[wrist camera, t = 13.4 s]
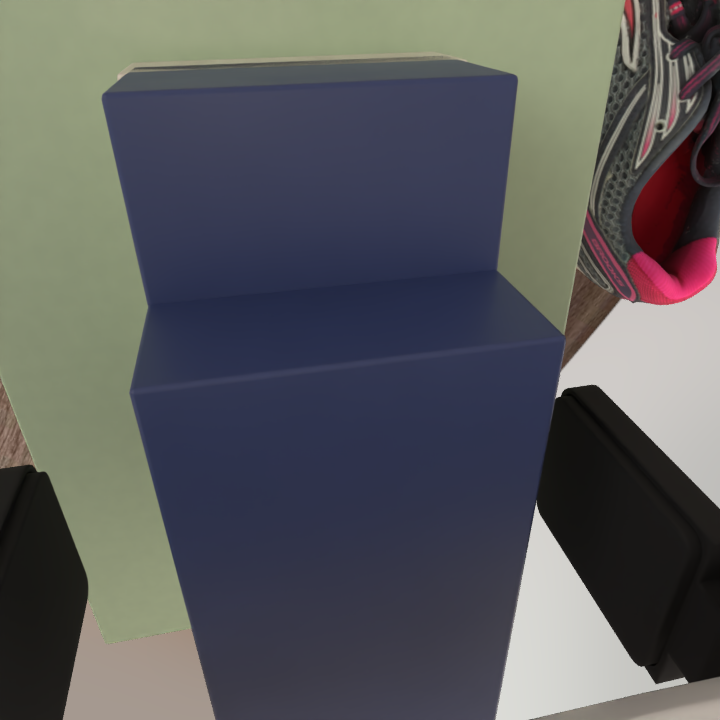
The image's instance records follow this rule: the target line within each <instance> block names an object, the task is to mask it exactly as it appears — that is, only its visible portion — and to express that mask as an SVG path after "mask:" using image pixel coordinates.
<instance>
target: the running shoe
mask: <svg viewBox="0 0 720 720" xmlns="http://www.w3.org/2000/svg"><path fill="white" fill-rule="evenodd" d="M719 238H720V0H625V5H624V11H623V16H622V22H621V27H620V33H619V38H618V44H617V49H616V55H615V60H614V65H613V71H612V76H611V82H610V87H609V93H608V98H607V104H606V109H605V115H604V120H603V125H602V131H601V136H600V142H599V147H598V153H597V158H596V164H595V169H594V175H593V180H592V186H591V191H590V196H589V202H588V207H587V213H586V218H585V224H584V229H583V235H582V240H581V246H580V251H579V256H578V262H577V267H576V269H578V270H580V271H581V272H582V273H583V274H584V275H585V276H586V277H587V278H589V279H590V280H591V281H592V282H594V283H595V284H596V285H598V286H599V287H601V288H603V289H605V290H607V291H608V292H609V293H610V294H613V295H614V296H616V297H619V298H622V299H627V300H629V301H631V302H632V303H635V302H644V303H651V304H656V305H669V304H674V303H678V302H682V301H684V300H686V299H688V298H690V297H692V296H694V295H696V294H697V293H699V292H700V291H701V290H703V289H704V288H705V287H707V285H709V284H710V283H711V281H712V280H713V279H714V277H715V274H716V271H717V262H716V253H717V248H718V244H719Z"/></svg>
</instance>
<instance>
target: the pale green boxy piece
mask: <svg viewBox="0 0 720 720" xmlns="http://www.w3.org/2000/svg"><path fill="white" fill-rule="evenodd" d="M624 5H625V0H0V378H1V381H2V383H3V386H4V388H5V391H6V393H7V396H8V398H9V401H10V403H11V406H12V409H13V411H14V414H15V416H16V419H17V421H18V424H19V426H20V429H21V431H22V434H23V436H24V439H25V441H26V444H27V447H28V449H29V452H30V454H31V457H32V459H33V462H34V464H35V467H36V469H37V472H42V471H44V472H46V473H47V474H48V476H49V478H50V480H51V483H52V486H53V488H54V491H55V493H56V496H57V499H58V501H59V504H60V506H61V509H62V512H63V514H64V517H65V519H66V522H67V525H68V527H69V530H70V532H71V535H72V538H73V540H74V543H75V545H76V548H77V551H78V553H79V556H80V558H81V561H82V564H83V566H84V569H85V572H86V574H87V578H88V587H89V590H88V601H89V603H90V606H91V608H92V611H93V614H94V616H95V619H96V621H97V624H98V626H99V629H100V631H101V634H102V636H103V639H104V641H105V643H106V644H111V643H116V642H122V641H127V640H132V639H138V638H143V637H149V636H154V635H159V634H165V633H170V632H175V631H181V630H186V629H191V625H190V621H189V617H188V613H187V610H186V606H185V602H184V598H183V595H182V591H181V587H180V583H179V579H178V576H177V572H176V568H175V564H174V561H173V557H172V553H171V549H170V545H169V542H168V538H167V534H166V530H165V527H164V523H163V519H162V515H161V511H160V508H159V504H158V500H157V496H156V493H155V489H154V485H153V481H152V477H151V474H150V470H149V466H148V462H147V458H146V455H145V451H144V447H143V443H142V440H141V436H140V432H139V428H138V424H137V421H136V417H135V413H134V409H133V406H132V402H131V398H130V394H129V391H130V387H131V382H132V378H133V373H134V369H135V364H136V359H137V355H138V350H139V346H140V341H141V337H142V332H143V327H144V323H145V318H146V314H147V309H148V305H147V301H146V296H145V292H144V287H143V283H142V278H141V274H140V269H139V265H138V261H137V256H136V252H135V247H134V243H133V238H132V234H131V229H130V225H129V220H128V216H127V211H126V207H125V203H124V198H123V194H122V189H121V185H120V180H119V176H118V171H117V167H116V162H115V158H114V154H113V149H112V145H111V140H110V136H109V131H108V127H107V122H106V118H105V113H104V109H103V105H102V100H101V98H102V94H103V93H104V92H105V91H107V90H108V89H109V88H110V87H111V86H112V85H114V84H115V83H116V82H117V81H118V80H117V75H118V74H119V73H120V72H121V71H122V70H124V69H125V68H126V67H128V66H129V65H130V64H132V63H135V62H162V61H190V60H217V59H244V58H271V57H299V56H326V55H353V54H380V53H407V52H438V53H442V54H446V55H450V56H454V57H458V58H462V59H465V60H467V62H469V63H473V64H477V65H481V66H484V67H488V68H492V69H496V70H500V71H504V72H507V73H511V74H514V75H516V76H517V77H518V86H517V95H516V104H515V114H514V123H513V132H512V141H511V150H510V159H509V168H508V177H507V186H506V195H505V204H504V213H503V222H502V232H501V241H500V250H499V259H498V268H497V270H498V271H499V272H500V273H501V274H502V275H503V276H504V277H505V278H506V279H507V280H508V281H509V282H510V283H511V284H512V285H513V286H514V287H515V288H516V289H517V290H518V291H519V292H520V293H521V294H522V295H523V296H524V297H525V298H526V299H527V300H528V301H529V302H530V303H531V304H532V305H533V306H535V307H536V308H537V309H538V310H539V311H540V312H541V313H542V314H543V315H544V316H545V317H546V318H547V319H548V320H549V321H550V322H551V323H552V324H553V325H554V326H555V327H556V328H557V329H558V330H559V331H560V332H561V333H562V334H563V335H564V333H565V327H566V322H567V316H568V311H569V306H570V300H571V295H572V289H573V284H574V278H575V273H576V267H577V262H578V256H579V251H580V246H581V240H582V235H583V229H584V224H585V218H586V213H587V207H588V202H589V196H590V191H591V186H592V180H593V175H594V169H595V164H596V158H597V153H598V147H599V142H600V136H601V131H602V125H603V120H604V115H605V109H606V104H607V98H608V93H609V87H610V82H611V76H612V71H613V65H614V60H615V55H616V49H617V44H618V38H619V33H620V27H621V22H622V16H623V11H624Z"/></svg>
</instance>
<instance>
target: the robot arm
mask: <svg viewBox="0 0 720 720" xmlns="http://www.w3.org/2000/svg"><path fill="white" fill-rule="evenodd" d="M537 507H538V510H539V513H540V515H541V517H542V518H543V520H544V521H545V523H546V525H547V526H548V528H549V529H550V531H551V533H552V534H553V536H554V537H555V539H556V540H557V542H558V543H559V545H560V546H561V548H562V550H563V551H564V553H565V555H566V556H567V558H568V559H569V561H570V562H571V564H572V566H573V567H574V569H575V570H576V572H577V574H578V575H579V576H580V578H581V580H582V581H583V583H584V584H585V586H586V588H587V589H588V591H589V592H590V594H591V596H592V597H593V599H594V600H595V602H596V604H597V605H598V607H599V608H600V610H601V611H602V613H603V614H604V616H605V618H606V619H607V621H608V622H609V624H610V626H611V627H612V629H613V630H614V632H615V633H616V635H617V637H618V638H619V640H620V641H621V643H622V645H623V646H624V648H625V649H626V651H627V652H628V654H629V656H630V657H631V659H632V660H633V661H634V662H635V663H636V664H637V665H638V666H641V667H642V666H645V668H646V670H647V671H648V673H649V674H650V676H651V677H652V679H653V680H654V682H655V683H656V684H658V683H662V682H666V681H671V680H674V679H679V678H683V677H685V678H686V680H687V681H688V684H684V685H679V686H674V687H670V688H665V689H660V690H656V691H651V692H646V693H642V694H637V695H633V696H629V697H624V698H620V699H616V700H612V701H607V702H603V703H599V704H594V705H590V706H586V707H582V708H578V709H573V710H569V711H565V712H560V713H556V714H552V715H548V716H543V717H539V718H535V719H530V720H720V509H719V508H718V507H717V506H716V505H715V504H714V503H713V502H712V501H711V500H710V499H709V498H708V497H707V496H706V495H705V494H704V493H703V492H702V491H701V490H700V488H699V487H697V486H696V485H695V483H694V482H692V480H691V479H689V477H688V476H687V475H686V474H685V473H684V472H682V470H681V469H680V468H679V467H678V466H677V465H676V464H675V463H674V462H673V461H672V460H671V459H670V458H669V457H668V456H667V455H666V454H665V453H664V452H663V451H662V450H661V449H660V448H659V447H658V446H657V445H656V444H655V443H654V442H653V441H652V440H651V439H650V438H649V437H648V436H647V435H646V434H645V433H644V432H643V431H642V430H641V429H640V428H639V427H638V426H637V425H636V424H635V423H634V422H633V421H632V420H631V419H630V418H629V417H628V416H627V415H626V414H625V413H624V412H623V411H622V410H621V409H620V408H619V407H618V406H617V405H616V404H615V403H614V402H613V401H612V400H611V399H610V398H609V397H608V396H607V395H606V394H605V393H604V392H603V391H602V390H601V389H600V388H599V387H597V386H596V385H587V386H580V387H573V388H567V389H565V390H564V391H563V392H562V395H561V397H558V398H556V400H555V403H554V409H553V414H552V419H551V425H550V430H549V435H548V441H547V446H546V452H545V457H544V462H543V468H542V473H541V478H540V484H539V489H538V494H537ZM88 590H89V587H88V578H87V574H86V572H85V569H84V566H83V564H82V561H81V558H80V556H79V553H78V551H77V548H76V545H75V543H74V540H73V538H72V535H71V532H70V530H69V527H68V525H67V522H66V519H65V517H64V514H63V512H62V509H61V506H60V504H59V501H58V499H57V496H56V493H55V491H54V488H53V486H52V483H51V480H50V478H49V476H48V474H47V473H46V472H44V471H42V472H37V471H36V469H35V468H34V467H33V466H32V465H24V466H17V467H10V468H3V469H0V720H63V715H64V711H65V706H66V701H67V695H68V690H69V686H70V681H71V677H72V672H73V667H74V662H75V657H76V652H77V648H78V643H79V638H80V633H81V627H82V623H83V618H84V613H85V608H86V604H87V599H88Z"/></svg>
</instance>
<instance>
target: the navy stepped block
mask: <svg viewBox="0 0 720 720" xmlns="http://www.w3.org/2000/svg"><path fill="white" fill-rule="evenodd" d="M117 80H118V81H117V82H116V83H115V84H114V85H112V86H111V87H110V88H109V89H108V90H107V91H105V92H104V93H103V94H102V98H101V100H102V105H103V109H104V113H105V118H106V122H107V127H108V131H109V136H110V140H111V145H112V149H113V154H114V158H115V162H116V167H117V171H118V176H119V180H120V185H121V189H122V194H123V198H124V203H125V207H126V211H127V216H128V220H129V225H130V229H131V234H132V238H133V243H134V247H135V252H136V256H137V261H138V265H139V269H140V274H141V278H142V283H143V287H144V292H145V296H146V301H147V305H148V309H147V314H146V318H145V323H144V327H143V332H142V337H141V341H140V346H139V350H138V355H137V359H136V364H135V369H134V373H133V378H132V382H131V387H130V391H129V394H130V398H131V402H132V406H133V409H134V413H135V417H136V421H137V424H138V428H139V432H140V436H141V440H142V443H143V447H144V451H145V455H146V458H147V462H148V466H149V470H150V474H151V477H152V481H153V485H154V489H155V493H156V496H157V500H158V504H159V508H160V511H161V515H162V519H163V523H164V527H165V530H166V534H167V538H168V542H169V545H170V549H171V553H172V557H173V561H174V564H175V568H176V572H177V576H178V579H179V583H180V587H181V591H182V595H183V598H184V602H185V606H186V610H187V613H188V617H189V621H190V625H191V629H192V632H193V636H194V640H195V644H196V647H197V651H198V655H199V659H200V663H201V666H202V670H203V674H204V678H205V682H206V685H207V689H208V693H209V696H210V700H211V704H212V707H213V712H214V716H215V719H216V720H495V719H496V714H497V707H498V703H499V697H500V692H501V687H502V681H503V676H504V671H505V665H506V660H507V655H508V649H509V643H510V639H511V633H512V628H513V623H514V617H515V612H516V607H517V601H518V595H519V590H520V585H521V580H522V574H523V569H524V564H525V558H526V553H527V548H528V542H529V537H530V531H531V526H532V521H533V516H534V510H535V505H536V500H537V494H538V489H539V484H540V478H541V473H542V468H543V462H544V457H545V452H546V446H547V441H548V435H549V430H550V425H551V419H552V414H553V409H554V403H555V397H556V392H557V387H558V382H559V377H560V371H561V366H562V361H563V355H564V350H565V345H566V338H565V336H564V335H563V334H562V333H561V332H560V331H559V330H558V329H557V328H556V327H555V326H554V325H553V324H552V323H551V322H550V321H549V320H548V319H547V318H546V317H545V316H544V315H543V314H542V313H541V312H540V311H539V310H538V309H537V308H536V307H535V306H533V305H532V304H531V303H530V302H529V301H528V300H527V299H526V298H525V297H524V296H523V295H522V294H521V293H520V292H519V291H518V290H517V289H516V288H515V287H514V286H513V285H512V284H511V283H510V282H509V281H508V280H507V279H506V278H505V277H504V276H503V275H502V274H501V273H500V272H499V271H498V270H497V268H498V259H499V250H500V241H501V232H502V222H503V213H504V204H505V195H506V186H507V177H508V168H509V159H510V150H511V141H512V132H513V123H514V114H515V104H516V95H517V86H518V77H517V76H516V75H514V74H511V73H507V72H504V71H500V70H496V69H492V68H488V67H484V66H481V65H477V64H473V63H469V62H467V60H465V59H462V58H458V57H454V56H450V55H446V54H442V53H438V52H407V53H380V54H353V55H326V56H299V57H271V58H244V59H217V60H190V61H162V62H135V63H132V64H130V65H129V66H128V67H126V68H125V69H124V70H122V71H121V72H120V73H119V74H118V75H117Z"/></svg>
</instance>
